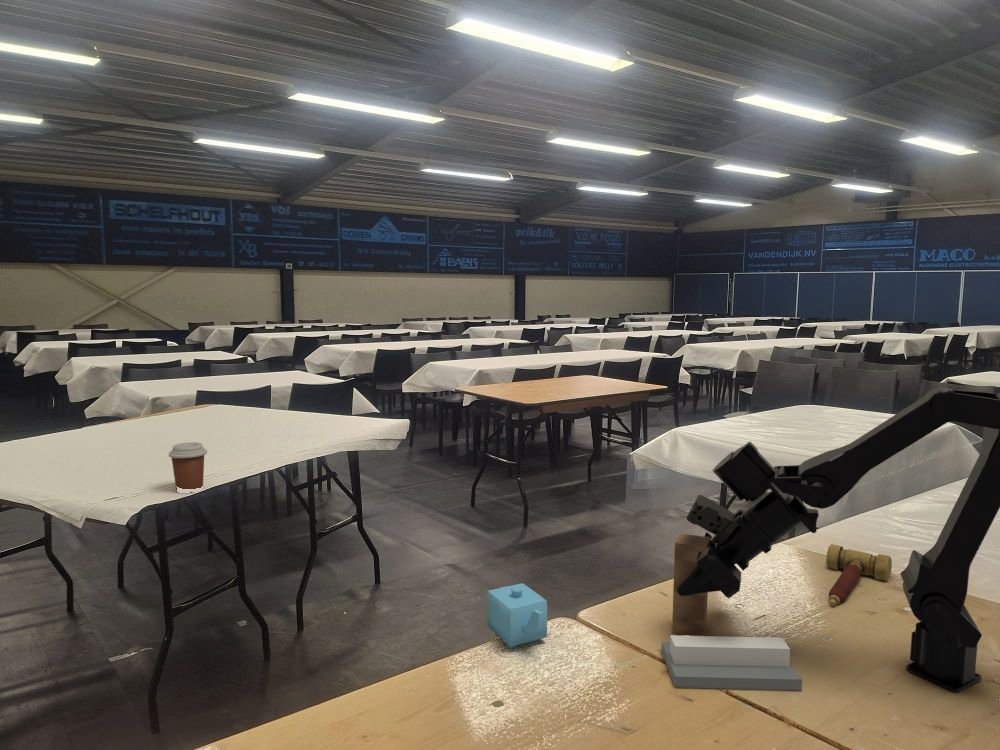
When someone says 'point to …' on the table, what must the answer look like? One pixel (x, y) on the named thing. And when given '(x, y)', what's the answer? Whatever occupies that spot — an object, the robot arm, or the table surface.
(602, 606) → the table surface
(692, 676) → the ridge board
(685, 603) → the walnut post
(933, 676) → the robot arm
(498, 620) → the teapot
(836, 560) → the gavel
